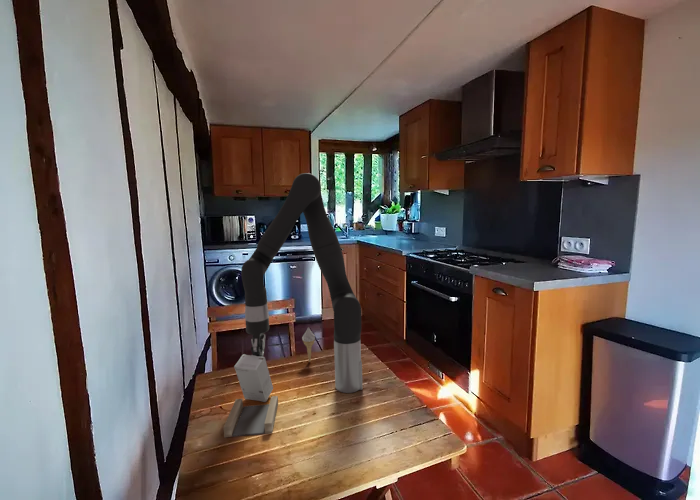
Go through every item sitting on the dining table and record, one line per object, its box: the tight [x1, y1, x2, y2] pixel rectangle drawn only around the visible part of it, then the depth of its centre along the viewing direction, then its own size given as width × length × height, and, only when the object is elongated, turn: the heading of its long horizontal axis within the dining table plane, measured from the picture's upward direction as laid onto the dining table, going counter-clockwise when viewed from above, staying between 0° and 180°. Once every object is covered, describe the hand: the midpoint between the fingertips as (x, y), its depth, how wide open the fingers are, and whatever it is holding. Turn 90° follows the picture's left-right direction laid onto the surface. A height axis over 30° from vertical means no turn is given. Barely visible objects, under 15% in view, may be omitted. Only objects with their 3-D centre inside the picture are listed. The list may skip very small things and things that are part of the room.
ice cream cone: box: [301, 326, 316, 363], centre depth 136 cm, size 6×6×15 cm
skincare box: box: [233, 353, 274, 403], centre depth 107 cm, size 8×6×15 cm
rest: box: [223, 395, 279, 438], centre depth 98 cm, size 13×14×3 cm
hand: (259, 366), depth 112 cm, fingers closed
